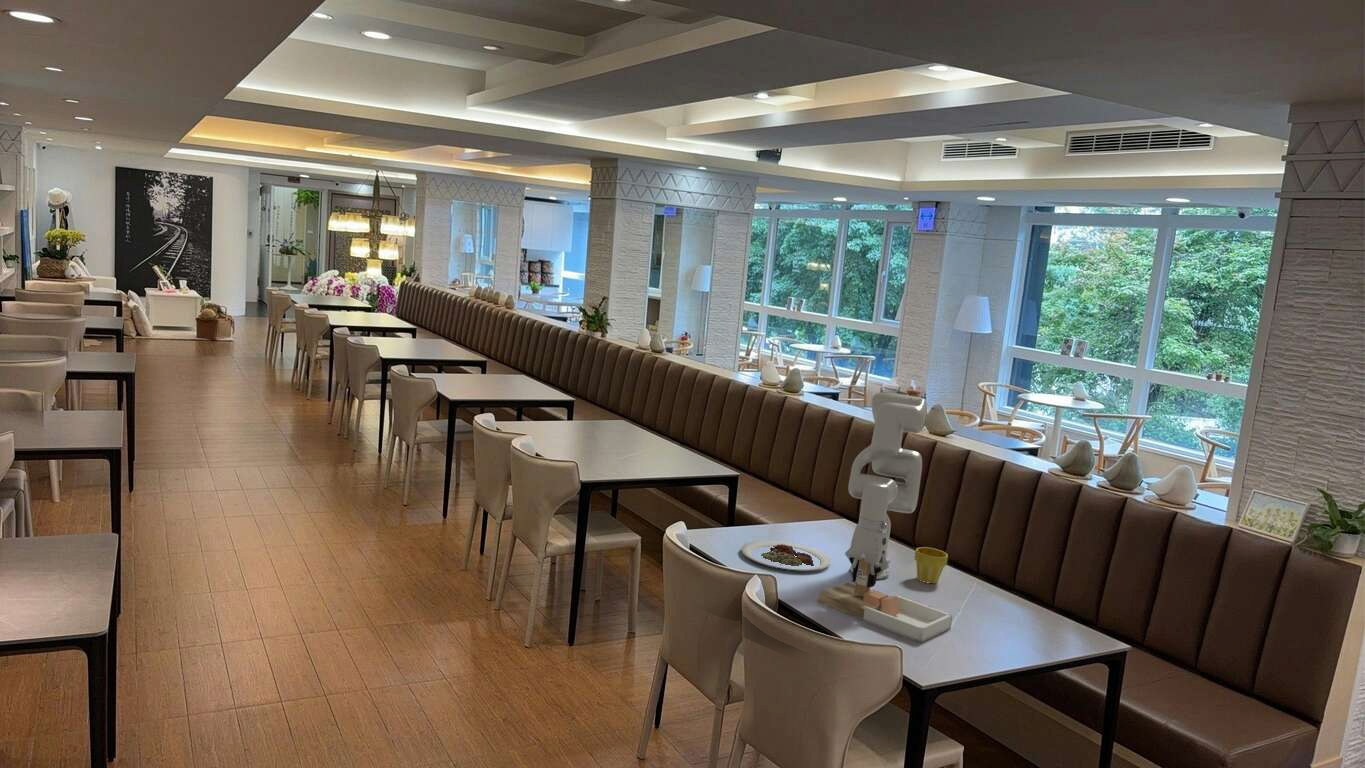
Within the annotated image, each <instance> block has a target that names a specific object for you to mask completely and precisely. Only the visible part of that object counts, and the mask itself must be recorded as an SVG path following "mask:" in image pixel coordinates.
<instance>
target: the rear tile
mask: <svg viewBox="0 0 1365 768" xmlns="http://www.w3.org/2000/svg"><path fill="white" fill-rule="evenodd" d="M870 590H871V589H870ZM888 596H889V595H888V594H886V593H882V592H881V591H877V590H875V589H872V590H871V591H869V592H866V593H864V598H863V601H864V602H867V603H869V604H872V605H874V606H877V607H879V606H882V604H881V599H883V598H886V597H888Z"/></svg>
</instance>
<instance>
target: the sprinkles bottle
mask: <svg viewBox="0 0 1365 768" xmlns="http://www.w3.org/2000/svg"><path fill="white" fill-rule="evenodd" d="M861 557H863V558H865V555H864V554H862V555H861ZM863 558H862V559H861V560H859V564H858V571H857V576H856V582H855V584H854V585H855V590H854V593H855V594H856V595H859V596H864V593H866V592H869V591H870V590H871V587H870V588H869V587H867V583H868V576H869V574H871V570H870V564H869V563H867V562H865V559H863Z"/></svg>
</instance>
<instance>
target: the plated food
mask: <svg viewBox="0 0 1365 768" xmlns="http://www.w3.org/2000/svg"><path fill="white" fill-rule="evenodd" d="M767 546H768V547H770V546H773V547H774V548H772V547H771V548H770V550H771V551H770V552H767V553H762V554H761V556H763V558H765V559H768V560H771V562H772V561H773V562H779V563H781V564H785V565H791V566H799V565H802V563H804V564H806V565H811V566H814V564H813V560H812V557H811V556H810V555H808V554H805V553H800V552H797V553H796V551H795V550H793V548H795V549H800V550H803V551H806V552H808V553H810V554H812V555H814V556H815V557H817V558H818V559H819V560H820V565H819V566H818V567H815V568H810V569H791V568H783V567H778V566H774V565H770V564H767V563H764V562H761V561H759V560H757V559H755V558H754V557H753V556H752V555H751V552H752V550H754V549H757V548H760V547H767ZM740 550H741V553H742V554H743V555H744V556H745V557H746V558H747V559H750V560H752V561H753V562H756V563H758V564H762V565H764V566H768V567H770V566H771V568H774V567H775V569H778V568H781V569H780V570H783V569H787V570H786V571H791V570H797V571H796V572H811V571H820V570H823V569H826V568H828V567H829V566H830V565H831V562H832V560H831V558H830V557H829V555H827V554H825V553H824V552H823V551H821V550H819V549H816V548H813V547H811V546H806V545H803V544H798V543H795V542H790V541H789V542H788V541H781V540H769V539H768V540H754V541H749V542H747V543H745V544H744V545H742V546H741V549H740ZM772 551H773V552H772ZM794 555H795V556H797V557H795V556H794ZM781 564H780V565H781Z"/></svg>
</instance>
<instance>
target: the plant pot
mask: <svg viewBox="0 0 1365 768" xmlns="http://www.w3.org/2000/svg"><path fill="white" fill-rule="evenodd" d="M914 553H915V554H914V560H915V562H916V564H915V566H916V579H917V578H918V579H919V580H921V581H925V582H929V583H936V584H937V583H938V582H939V580H940V577H941V574H942V573H943V570H944V569H945V567H946V566H947V563H948V559H949V558H948V557H949V555H948V553H947V552H945V551H943V550H939V549H937V548H933V547H926V546H922V547H917V548H916V549H915V551H914ZM918 579H917V580H918ZM919 580H918V581H919ZM921 581H920V582H921Z"/></svg>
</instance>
